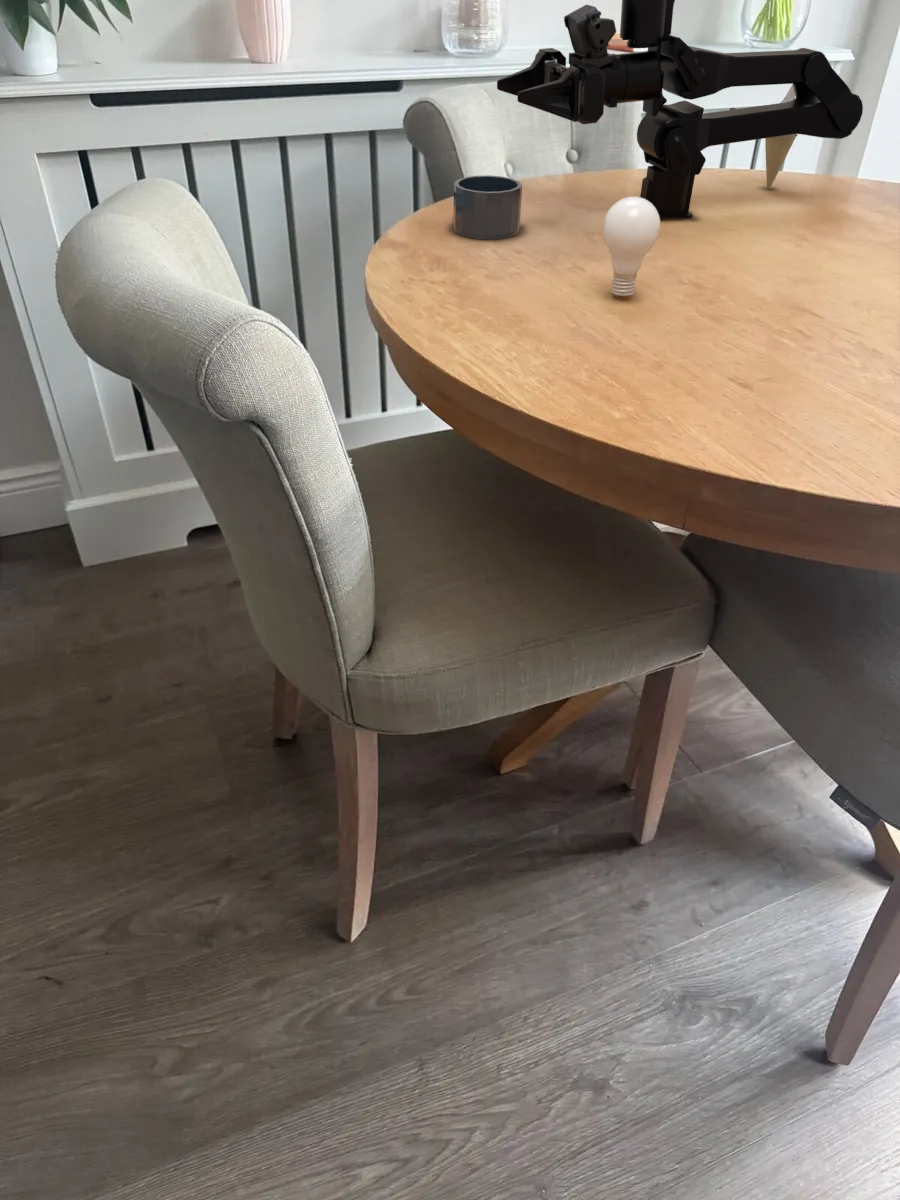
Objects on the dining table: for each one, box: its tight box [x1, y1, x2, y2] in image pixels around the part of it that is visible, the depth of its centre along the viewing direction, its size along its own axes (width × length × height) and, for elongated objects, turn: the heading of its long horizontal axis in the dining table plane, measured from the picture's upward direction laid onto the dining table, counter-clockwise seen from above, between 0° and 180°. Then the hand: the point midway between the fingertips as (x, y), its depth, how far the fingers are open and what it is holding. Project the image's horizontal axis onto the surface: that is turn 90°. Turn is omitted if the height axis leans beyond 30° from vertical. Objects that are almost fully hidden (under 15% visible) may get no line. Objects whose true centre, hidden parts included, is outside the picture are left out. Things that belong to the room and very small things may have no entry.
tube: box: [452, 174, 523, 241], centre depth 121 cm, size 9×9×6 cm
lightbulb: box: [602, 195, 661, 299], centre depth 99 cm, size 6×6×11 cm
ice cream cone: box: [764, 84, 798, 190], centre depth 137 cm, size 5×5×15 cm
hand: (507, 90), depth 114 cm, fingers open, 9 cm apart
